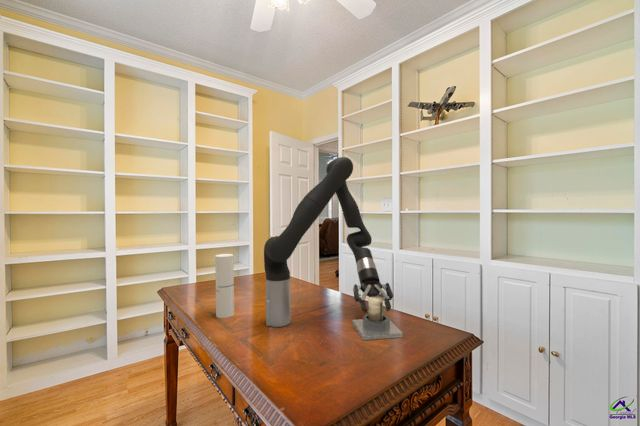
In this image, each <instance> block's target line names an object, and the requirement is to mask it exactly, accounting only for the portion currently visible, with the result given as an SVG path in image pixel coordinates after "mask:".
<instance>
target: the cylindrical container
mask: <svg viewBox="0 0 640 426" xmlns="http://www.w3.org/2000/svg"><path fill="white" fill-rule="evenodd" d="M214 262H215V264H214V265H215V271H214V272H215V316H216V318H218V319H226V318H227V319H228V318H230V317H232V316H234V315H235V290H234V289H235V287H234V286H235V285H234V282H235V281H234V276H235V275H234V254H232V253H220V254H215V256H214Z"/></svg>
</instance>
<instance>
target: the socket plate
mask: <svg viewBox="0 0 640 426" xmlns="http://www.w3.org/2000/svg"><path fill="white" fill-rule="evenodd" d="M351 322H352V325H353V327H354V328H355V331H357V333H358V335H359V336H360V337H361V340H362V341H372V340H373V341H374V340H383V339H385V340H386V339H396V338H397V339H398V338H403V337H404V335H403V332H402V330H400V329H399V328H398V327H397V326H396V324H395V323H394V322H392V321H391V319H390V318H389V317H388V316H387V315H386V314H383V321H379V322H375V321H371V320H368V313H365V315H364V316H362V318H361V319H360V318H359V319H352V321H351Z"/></svg>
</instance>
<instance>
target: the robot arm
mask: <svg viewBox="0 0 640 426" xmlns="http://www.w3.org/2000/svg"><path fill="white" fill-rule="evenodd" d="M325 170H326V175H325V177H324V178H322V180H321V181H320V182H319V183H318V184H316V185H315V186H314V187H313V188H311V190H310V191H309V192H307V194H306V195H305V196H304V197H303V198H302V199H301V201H300V202H299V204H298V205H297V207H296V208H295V210H294V212H293V214H292V217H291V220H290V222H289V224H288V225H287V226H286V228H285V229H284V230H283V231H282V232H281V233H280V235H278V236H272V237H270V238H268V239H267V240H266V242H265V243H264V247H263V261H264V262H263V265H264V273H265V295H266V297H265V298H266V299H265V322H266V323H265V325H266V327H272V328H279V327H280V328H281V327H285V326H287V325H289V324H290V323H291V271H290V269H289V265H288V260H289V258H290V257H291V256H292V255H293V253H294V251H295V250H296V248H297V246H298V245H299V243H300V241H301V240H302V238H303V236H305V234H306V233H307V232H308V230H309V229H310V228H311V227H312V225H313V224H314V223H315V221H316V220H317V219H318V218H319V216H321V213H323V211H324V209H326V206H327V205H328V204H329V202H331V200H332V198H333V196H334V195H335V194H336V197H337V200H338V203H339V204H340V205H339V206H340V208H341V211H342V215H343V217H344V221H345V224H346V226H347V228H350V229H354V228H355V229H358V231H354V232H352V233H348V235H347V236H346V244H347V245H348V247H349V248H350V250H351V252H352V253H353V256H354V260H355V264H356V272H357V275H358V280H359V284H360V285H358V284H354V285H353V288H352V291H353V298H354V302H355V303H358V302H359V304H360V308H361V310H362V312H363V313H364V314H367V312H368V308H367V307H368V306H367V303H366V298H367V297H368V298H369V297H371V296H379V297H382V298H383V304H384V306H385V310H386V312H390V310H391V308H392V305H391V301H392V300H393V298H394V293H393V292H392V289H391V286H390V283H388V282H386V283H385V284H382V283H381V280H380V276H379V273H378V270H377V266H376V263H375V262H374V258H373V255H372V254H373V253H372V251H371V249H370V248H368V246H370V245H371V243H372V241H373V240H372V235H371V234H370V232H369V230H368V229H367V227H366V226H365V224H364V221H363V220H362V215H361V211H360V209H359V205H358V204H357V201H356V200H355V198H354V196H353V195H352V194H351V191H350V190H349V187H348V185H347V184H348V183H347V180H348V179H349V178H350V177H351V175H352V174H353V171H354V163H353V161H352V160H351V159H350V158H349V157H347V156H346V157H345V156H339V157H337V158H335V159H333V160H331V161H330V162H328V164H327V165H326V169H325ZM360 291H362V293H363V294H362V296H361V297H360V295H359V294H360V293H359V292H360Z"/></svg>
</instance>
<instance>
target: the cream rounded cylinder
mask: <svg viewBox="0 0 640 426" xmlns="http://www.w3.org/2000/svg"><path fill="white" fill-rule="evenodd" d="M367 303H368V306H367V307H368V308H367V312H368V313H367V314H368V320H371V321H375V322H379V321H383V315H384V300H383V298H382V297H379V296H371V297H369V296H368V302H367Z"/></svg>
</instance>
